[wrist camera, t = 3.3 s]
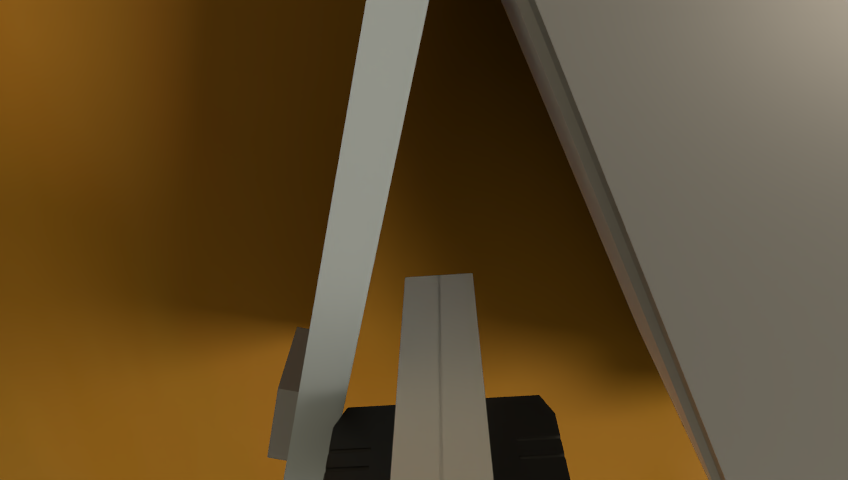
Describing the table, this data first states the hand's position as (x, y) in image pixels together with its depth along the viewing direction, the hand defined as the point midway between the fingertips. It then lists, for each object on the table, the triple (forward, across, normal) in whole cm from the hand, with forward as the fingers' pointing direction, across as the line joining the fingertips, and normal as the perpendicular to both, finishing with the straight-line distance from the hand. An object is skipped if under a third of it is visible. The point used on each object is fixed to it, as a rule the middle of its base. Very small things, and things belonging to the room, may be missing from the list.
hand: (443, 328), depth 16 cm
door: (+4, -2, +3) cm, 5 cm away
